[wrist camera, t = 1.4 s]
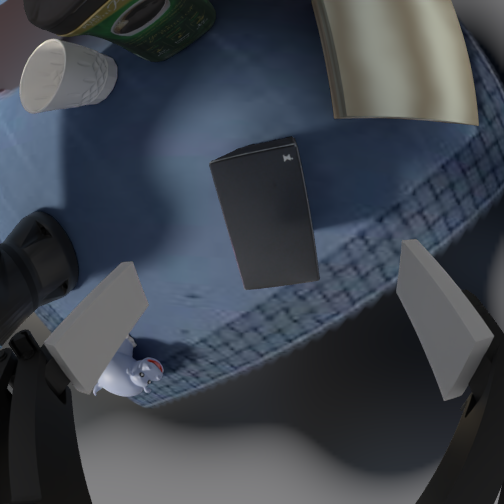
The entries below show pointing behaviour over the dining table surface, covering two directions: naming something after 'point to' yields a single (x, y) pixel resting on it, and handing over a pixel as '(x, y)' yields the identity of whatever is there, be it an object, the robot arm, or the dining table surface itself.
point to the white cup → (65, 77)
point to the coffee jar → (127, 22)
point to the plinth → (396, 60)
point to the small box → (267, 213)
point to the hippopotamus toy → (129, 372)
